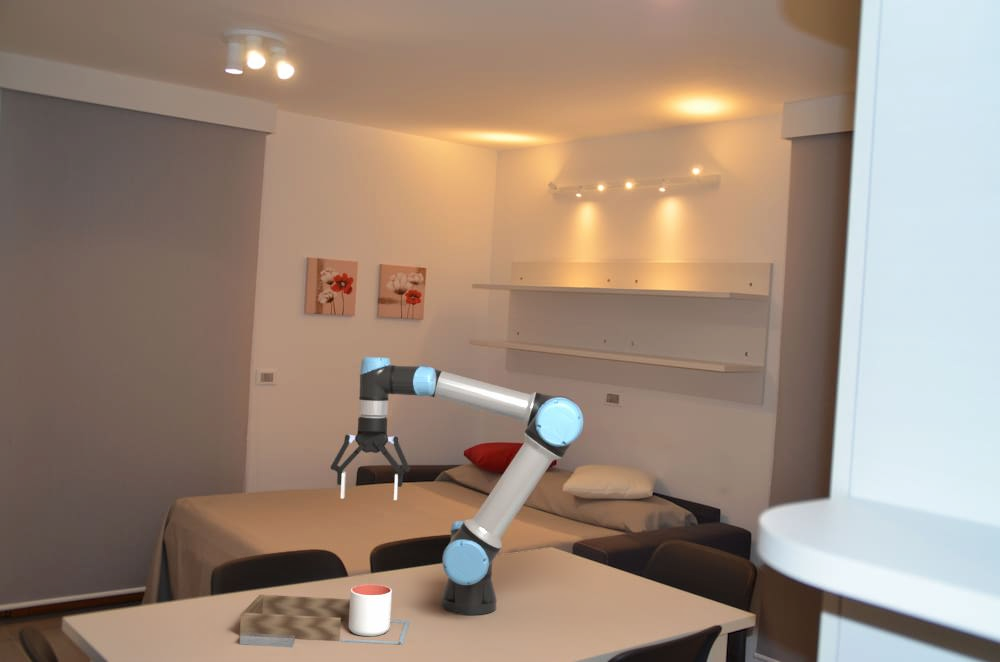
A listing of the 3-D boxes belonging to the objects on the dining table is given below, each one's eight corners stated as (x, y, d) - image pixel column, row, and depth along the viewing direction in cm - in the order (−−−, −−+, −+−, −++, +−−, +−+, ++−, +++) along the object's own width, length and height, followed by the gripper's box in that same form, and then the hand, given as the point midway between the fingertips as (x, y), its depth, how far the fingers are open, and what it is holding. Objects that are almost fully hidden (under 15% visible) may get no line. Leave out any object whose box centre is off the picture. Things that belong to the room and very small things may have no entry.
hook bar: (296, 641, 201) (296, 632, 201) (292, 647, 197) (292, 638, 197) (244, 638, 201) (245, 629, 201) (239, 644, 197) (240, 635, 197)
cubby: (350, 619, 219) (351, 599, 220) (338, 640, 203) (339, 619, 203) (258, 614, 219) (259, 594, 219) (239, 635, 203) (241, 614, 203)
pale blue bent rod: (409, 621, 220) (409, 620, 220) (402, 644, 203) (402, 643, 203) (352, 618, 220) (352, 617, 220) (340, 641, 203) (340, 640, 203)
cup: (382, 639, 205) (384, 597, 206) (342, 635, 207) (344, 593, 208) (394, 627, 215) (397, 586, 216) (356, 622, 217) (358, 582, 217)
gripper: (421, 417, 229) (417, 497, 229) (326, 413, 228) (322, 494, 227) (420, 419, 222) (417, 502, 221) (322, 415, 220) (318, 499, 220)
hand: (369, 498), depth 224 cm, fingers open, 13 cm apart
